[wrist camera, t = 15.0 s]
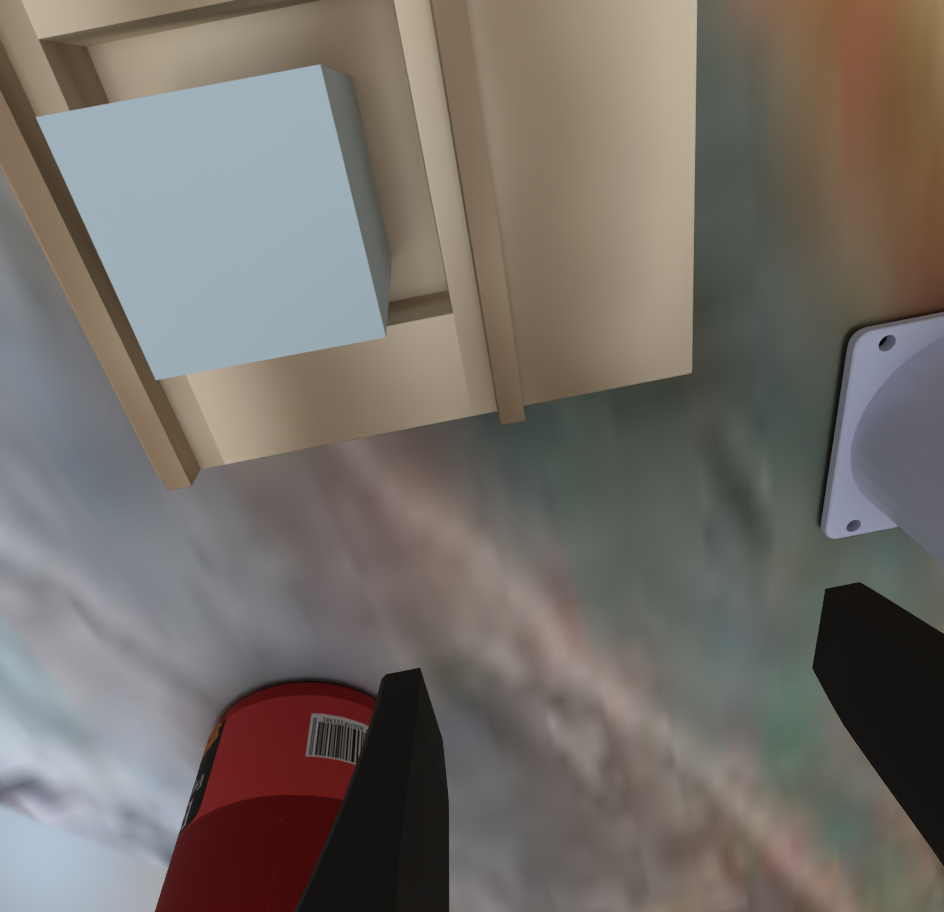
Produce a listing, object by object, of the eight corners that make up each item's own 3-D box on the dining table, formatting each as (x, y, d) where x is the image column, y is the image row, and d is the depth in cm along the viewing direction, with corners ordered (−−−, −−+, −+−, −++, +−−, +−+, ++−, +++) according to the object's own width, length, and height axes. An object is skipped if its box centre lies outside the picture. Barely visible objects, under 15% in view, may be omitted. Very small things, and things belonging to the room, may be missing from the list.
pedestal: (639, -231, 12) (723, -346, 9) (652, 334, 19) (704, 385, 15) (-43, -94, 13) (-201, -162, 9) (192, 424, 19) (147, 494, 15)
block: (351, 76, 14) (319, 63, 9) (391, 258, 16) (386, 337, 11) (174, 109, 14) (35, 117, 9) (236, 287, 16) (155, 379, 11)
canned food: (180, 697, 24) (37, 1080, 15) (380, 658, 24) (365, 1017, 15) (249, 806, 28) (171, 1165, 19) (421, 773, 28) (431, 1115, 19)
